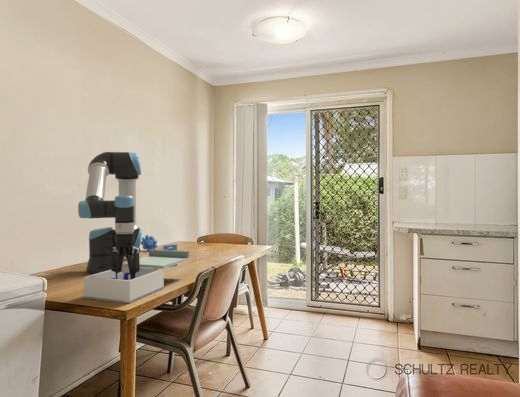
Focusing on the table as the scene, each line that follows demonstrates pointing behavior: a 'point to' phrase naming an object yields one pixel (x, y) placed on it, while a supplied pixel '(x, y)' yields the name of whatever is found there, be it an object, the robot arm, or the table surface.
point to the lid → (162, 258)
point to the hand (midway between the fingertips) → (125, 288)
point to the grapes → (149, 243)
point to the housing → (123, 285)
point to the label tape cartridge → (174, 248)
